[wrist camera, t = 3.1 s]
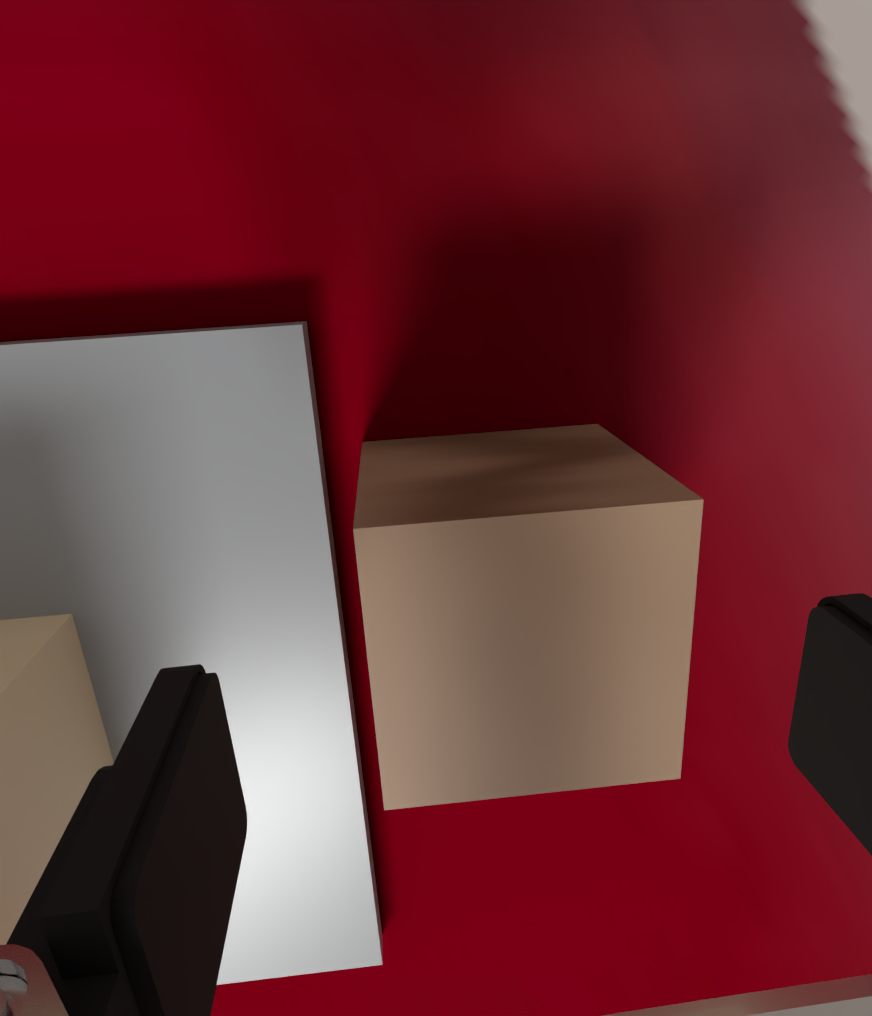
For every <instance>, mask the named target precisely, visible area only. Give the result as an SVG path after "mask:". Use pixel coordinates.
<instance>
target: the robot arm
mask: <svg viewBox="0 0 872 1016" xmlns="http://www.w3.org/2000/svg"><path fill="white" fill-rule="evenodd" d="M788 747H789V752H790V755H791V758H792V760H793V762H794V764H795V765H796V767H797V768H798V769H799V770H800V772H801V773H802V774H803V775H804V776H805V777H806V779H807V780H808V781H809V782H810V783H811V784H812V786H813V787H814V788H815V789H816V790H817V792H818V793H819V794H820V795H821V796H822V797H823V799H824V800H825V801H826V802H827V803H828V804H829V806H830V807H831V808H832V809H833V810H834V812H835V813H836V814H837V815H838V816H839V817H840V819H841V820H842V821H843V822H844V823H845V824H846V826H847V827H848V828H849V829H850V830H851V832H852V833H853V834H854V835H855V836H856V837H857V839H858V840H859V841H860V842H861V843H862V844H863V846H864V847H865V848H866V849H867V850H868V852H869V853H870V854H871V855H872V598H871V597H869V596H867V595H865V594H858V593H857V594H848V595H839V596H829V597H825V598H823V599H821V601H820V602H819V603H818V606H817V607H815V608H813V609H812V610H811V612H810V614H809V618H808V624H807V630H806V637H805V643H804V649H803V655H802V661H801V667H800V673H799V679H798V685H797V691H796V697H795V704H794V710H793V716H792V722H791V728H790V734H789V740H788ZM246 834H247V811H246V805H245V801H244V796H243V791H242V786H241V782H240V777H239V772H238V767H237V763H236V758H235V753H234V748H233V744H232V739H231V734H230V729H229V725H228V720H227V715H226V710H225V706H224V701H223V696H222V691H221V687H220V682H219V678H218V676H217V674H216V673H215V672H214V673H206V672H205V669H204V667H203V666H202V665H201V664H197V665H188V666H178V667H169V668H163V669H160V671H159V672H158V674H157V676H156V678H155V680H154V682H153V684H152V686H151V688H150V690H149V692H148V694H147V696H146V698H145V700H144V702H143V704H142V706H141V708H140V711H139V713H138V715H137V717H136V719H135V721H134V723H133V725H132V727H131V729H130V731H129V733H128V735H127V737H126V739H125V741H124V743H123V745H122V747H121V749H120V751H119V753H118V755H117V757H116V759H115V762H114V764H113V765H111V766H104V767H102V768H100V769H99V770H97V772H96V773H95V775H94V776H93V778H92V779H91V781H90V783H89V785H88V787H87V789H86V791H85V793H84V795H83V796H82V798H81V800H80V802H79V804H78V806H77V808H76V810H75V812H74V814H73V816H72V818H71V820H70V822H69V824H68V825H67V827H66V829H65V831H64V833H63V835H62V837H61V839H60V841H59V843H58V845H57V847H56V849H55V851H54V853H53V854H52V856H51V858H50V860H49V862H48V864H47V866H46V868H45V870H44V872H43V874H42V876H41V878H40V880H39V881H38V883H37V885H36V887H35V889H34V891H33V893H32V895H31V897H30V899H29V901H28V903H27V905H26V907H25V909H24V910H23V912H22V914H21V916H20V918H19V920H18V922H17V924H16V926H15V928H14V930H13V932H12V934H11V936H10V938H9V939H8V941H7V943H6V945H0V1016H210V1015H211V1010H212V1005H213V1000H214V995H215V990H216V985H217V980H218V975H219V970H220V965H221V960H222V955H223V950H224V945H225V940H226V935H227V930H228V925H229V920H230V915H231V910H232V905H233V900H234V895H235V890H236V885H237V880H238V875H239V870H240V865H241V860H242V855H243V850H244V845H245V840H246ZM603 1016H872V974H870V975H864V976H857V977H850V978H844V979H837V980H831V981H824V982H817V983H811V984H804V985H798V986H791V987H785V988H778V989H772V990H765V991H758V992H752V993H745V994H739V995H732V996H726V997H719V998H713V999H706V1000H700V1001H693V1002H687V1003H680V1004H674V1005H668V1006H661V1007H655V1008H648V1009H642V1010H635V1011H629V1012H622V1013H616V1014H609V1015H603Z"/></svg>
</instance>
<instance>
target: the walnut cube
mask: <svg viewBox="0 0 872 1016" xmlns="http://www.w3.org/2000/svg"><path fill="white" fill-rule="evenodd" d="M702 511H703V499H702V498H701V497H699V496H698V495H697V494H695V493H694V492H692V491H691V490H690V489H688V488H687V487H685V486H684V485H683V484H681V483H680V482H678V481H677V480H676V479H674V478H673V477H671V476H670V475H669V474H667V473H666V472H664V471H663V470H662V469H660V468H659V467H657V466H656V465H655V464H653V463H652V462H650V461H649V460H648V459H646V458H645V457H643V456H642V455H641V454H639V453H638V452H636V451H635V450H634V449H632V448H631V447H629V446H628V445H627V444H625V443H624V442H622V441H621V440H620V439H618V438H617V437H615V436H614V435H613V434H611V433H610V432H608V431H607V430H606V429H604V428H603V427H601V426H600V425H599V424H588V425H575V426H562V427H549V428H536V429H524V430H511V431H498V432H485V433H473V434H460V435H447V436H434V437H421V438H409V439H396V440H383V441H370V442H362V450H361V459H360V469H359V478H358V488H357V497H356V507H355V516H354V526H353V532H354V541H355V550H356V560H357V569H358V578H359V587H360V596H361V605H362V614H363V623H364V632H365V641H366V650H367V659H368V668H369V677H370V686H371V695H372V704H373V713H374V722H375V731H376V740H377V749H378V758H379V767H380V776H381V785H382V794H383V803H384V810H391V809H400V808H410V807H419V806H428V805H438V804H447V803H456V802H466V801H475V800H484V799H494V798H503V797H512V796H521V795H531V794H540V793H549V792H559V791H568V790H577V789H587V788H596V787H605V786H615V785H624V784H633V783H642V782H652V781H661V780H670V779H680V776H681V764H682V752H683V740H684V728H685V716H686V704H687V692H688V680H689V668H690V655H691V643H692V631H693V619H694V607H695V595H696V583H697V571H698V559H699V547H700V535H701V523H702Z"/></svg>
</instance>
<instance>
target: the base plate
mask: <svg viewBox="0 0 872 1016" xmlns="http://www.w3.org/2000/svg"><path fill="white" fill-rule="evenodd" d="M197 664H201V665H202V666H203V667H204V669H205V672H206V673H214V672H215V673H216V674H217V676H218V678H219V682H220V687H221V691H222V696H223V701H224V706H225V710H226V715H227V720H228V725H229V729H230V734H231V739H232V744H233V748H234V753H235V758H236V763H237V767H238V772H239V777H240V782H241V786H242V791H243V796H244V801H245V805H246V811H247V834H246V840H245V845H244V850H243V855H242V860H241V865H240V870H239V875H238V880H237V885H236V890H235V895H234V900H233V905H232V910H231V915H230V920H229V925H228V930H227V935H226V940H225V945H224V950H223V955H222V960H221V965H220V970H219V975H218V980H217V985H219V984H227V983H236V982H244V981H252V980H260V979H269V978H277V977H285V976H293V975H301V974H310V973H318V972H326V971H334V970H343V969H351V968H359V967H367V966H375V965H382V928H381V920H380V912H379V904H378V896H377V888H376V880H375V872H374V863H373V855H372V847H371V839H370V831H369V823H368V815H367V807H366V799H365V790H364V782H363V774H362V766H361V758H360V750H359V742H358V734H357V725H356V717H355V709H354V701H353V693H352V685H351V677H350V669H349V660H348V652H347V644H346V636H345V628H344V620H343V612H342V604H341V595H340V587H339V579H338V571H337V563H336V555H335V547H334V539H333V530H332V522H331V514H330V506H329V498H328V490H327V482H326V474H325V466H324V457H323V449H322V441H321V433H320V425H319V417H318V409H317V401H316V392H315V384H314V376H313V368H312V360H311V352H310V344H309V336H308V327H307V321H302V322H287V323H273V324H258V325H243V326H229V327H214V328H200V329H185V330H170V331H156V332H141V333H127V334H112V335H97V336H83V337H68V338H54V339H39V340H24V341H10V342H0V945H6V943H7V941H8V939H9V938H10V936H11V934H12V932H13V930H14V928H15V926H16V924H17V922H18V920H19V918H20V916H21V914H22V912H23V910H24V909H25V907H26V905H27V903H28V901H29V899H30V897H31V895H32V893H33V891H34V889H35V887H36V885H37V883H38V881H39V880H40V878H41V876H42V874H43V872H44V870H45V868H46V866H47V864H48V862H49V860H50V858H51V856H52V854H53V853H54V851H55V849H56V847H57V845H58V843H59V841H60V839H61V837H62V835H63V833H64V831H65V829H66V827H67V825H68V824H69V822H70V820H71V818H72V816H73V814H74V812H75V810H76V808H77V806H78V804H79V802H80V800H81V798H82V796H83V795H84V793H85V791H86V789H87V787H88V785H89V783H90V781H91V779H92V778H93V776H94V775H95V773H96V772H97V770H99V769H100V768H102V767H104V766H111V765H113V764H114V762H115V759H116V757H117V755H118V753H119V751H120V749H121V747H122V745H123V743H124V741H125V739H126V737H127V735H128V733H129V731H130V729H131V727H132V725H133V723H134V721H135V719H136V717H137V715H138V713H139V711H140V708H141V706H142V704H143V702H144V700H145V698H146V696H147V694H148V692H149V690H150V688H151V686H152V684H153V682H154V680H155V678H156V676H157V674H158V672H159V671H160V669H163V668H169V667H178V666H188V665H197Z"/></svg>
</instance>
